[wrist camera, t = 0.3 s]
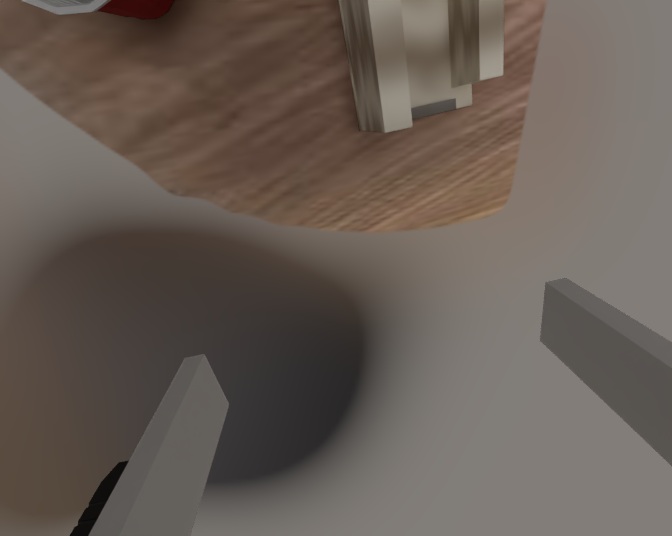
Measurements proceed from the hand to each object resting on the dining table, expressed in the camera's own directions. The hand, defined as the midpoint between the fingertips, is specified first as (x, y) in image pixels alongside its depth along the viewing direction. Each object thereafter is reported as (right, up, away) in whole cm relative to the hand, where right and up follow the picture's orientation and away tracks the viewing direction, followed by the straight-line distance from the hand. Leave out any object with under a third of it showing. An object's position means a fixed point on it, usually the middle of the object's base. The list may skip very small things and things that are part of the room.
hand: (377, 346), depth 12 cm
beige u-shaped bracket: (+6, +25, +19) cm, 32 cm away
